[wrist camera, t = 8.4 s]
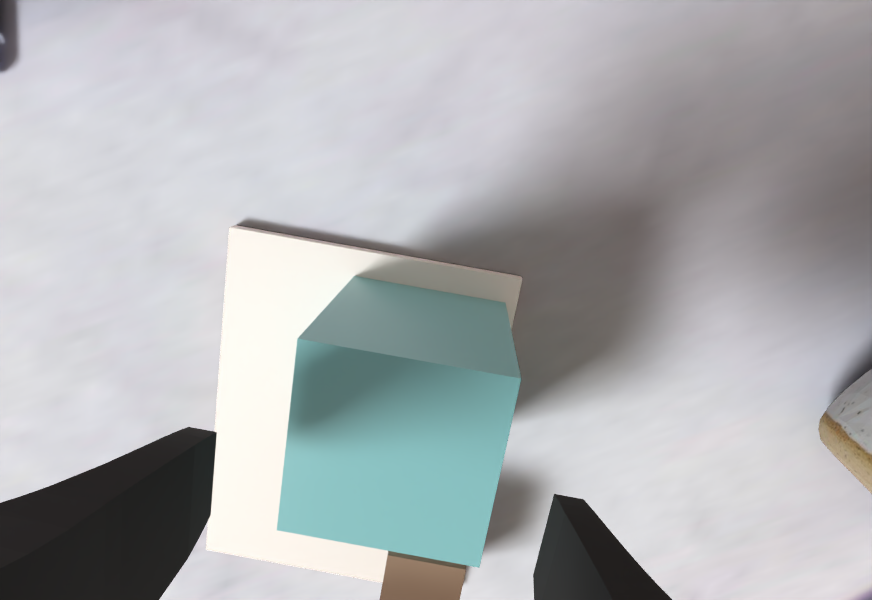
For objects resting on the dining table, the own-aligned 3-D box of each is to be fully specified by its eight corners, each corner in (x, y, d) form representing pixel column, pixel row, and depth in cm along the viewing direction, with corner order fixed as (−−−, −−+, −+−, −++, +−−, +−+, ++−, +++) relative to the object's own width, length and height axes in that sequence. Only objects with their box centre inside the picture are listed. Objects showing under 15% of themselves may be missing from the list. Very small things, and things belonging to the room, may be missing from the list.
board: (235, 225, 20) (229, 227, 19) (521, 276, 20) (522, 279, 19) (211, 541, 23) (205, 549, 23) (454, 587, 23) (454, 596, 23)
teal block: (336, 413, 21) (276, 530, 15) (354, 275, 20) (297, 338, 13) (477, 439, 21) (479, 567, 15) (505, 302, 20) (521, 378, 13)
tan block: (398, 500, 22) (387, 555, 19) (466, 513, 22) (466, 569, 19) (388, 557, 22) (376, 619, 20) (454, 570, 22) (451, 633, 20)
